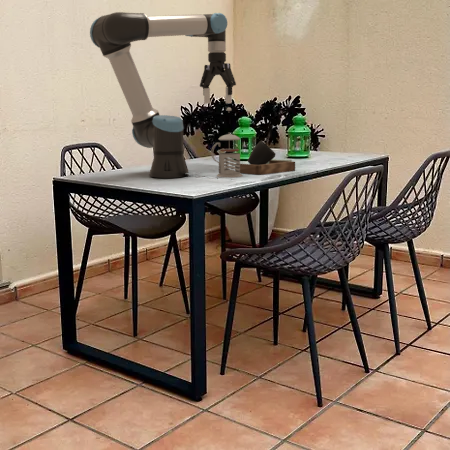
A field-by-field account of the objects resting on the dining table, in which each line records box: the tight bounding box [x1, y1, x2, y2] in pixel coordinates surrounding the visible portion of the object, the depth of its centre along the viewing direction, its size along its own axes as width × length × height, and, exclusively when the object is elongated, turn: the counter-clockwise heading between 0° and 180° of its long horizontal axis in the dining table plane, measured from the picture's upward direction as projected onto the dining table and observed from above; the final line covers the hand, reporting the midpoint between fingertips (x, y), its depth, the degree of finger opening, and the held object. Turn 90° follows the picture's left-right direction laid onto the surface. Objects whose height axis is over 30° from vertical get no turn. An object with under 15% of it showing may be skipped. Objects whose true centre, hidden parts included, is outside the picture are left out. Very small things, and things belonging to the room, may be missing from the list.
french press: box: [211, 107, 244, 178], centre depth 235 cm, size 10×12×25 cm
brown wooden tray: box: [234, 159, 296, 176], centre depth 250 cm, size 21×13×4 cm, turn 134°
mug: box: [247, 140, 276, 165], centre depth 258 cm, size 8×12×10 cm
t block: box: [266, 158, 293, 164], centre depth 269 cm, size 8×11×3 cm
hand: (217, 103), depth 275 cm, fingers open, 13 cm apart
